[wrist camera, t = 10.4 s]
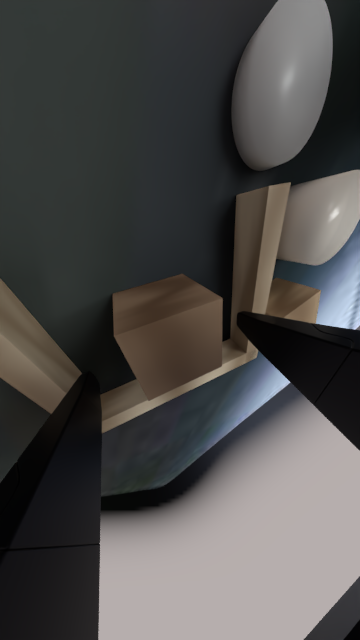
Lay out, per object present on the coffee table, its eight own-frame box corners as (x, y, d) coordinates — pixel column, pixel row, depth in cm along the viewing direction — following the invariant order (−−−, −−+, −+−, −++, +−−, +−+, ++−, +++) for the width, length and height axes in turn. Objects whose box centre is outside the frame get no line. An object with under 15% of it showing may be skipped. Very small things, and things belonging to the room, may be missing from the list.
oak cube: (275, 277, 15) (320, 290, 12) (277, 306, 17) (315, 323, 14) (243, 300, 15) (280, 320, 12) (250, 326, 17) (282, 348, 14)
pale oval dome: (316, 181, 11) (382, 165, 9) (297, 251, 14) (343, 255, 11) (264, 190, 10) (322, 175, 8) (255, 264, 13) (295, 273, 10)
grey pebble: (312, 31, 8) (350, -7, 6) (287, 168, 10) (310, 160, 9) (229, 19, 6) (256, -29, 5) (227, 176, 9) (244, 168, 8)
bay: (254, 191, 10) (290, 182, 8) (240, 343, 18) (256, 357, 16) (-77, 249, 6) (-167, 258, 4) (91, 410, 14) (87, 440, 12)
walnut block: (181, 273, 11) (222, 297, 7) (189, 327, 14) (222, 366, 10) (112, 293, 10) (114, 336, 6) (136, 347, 13) (148, 400, 9)
